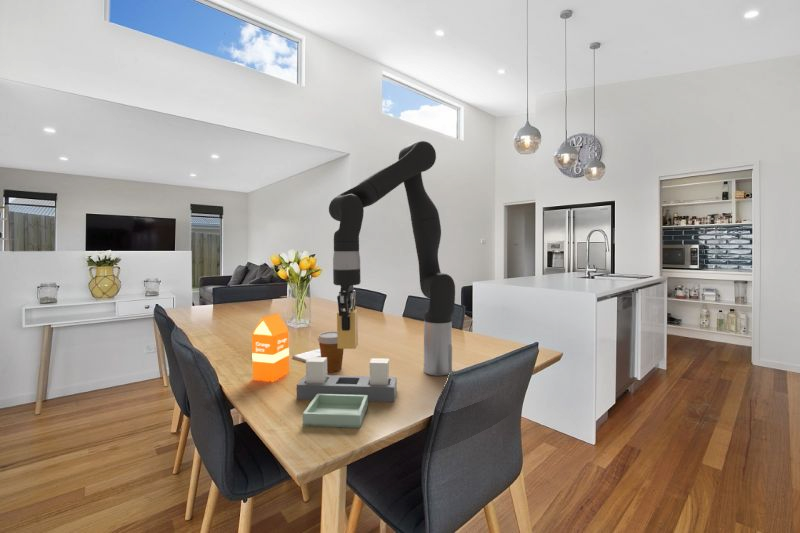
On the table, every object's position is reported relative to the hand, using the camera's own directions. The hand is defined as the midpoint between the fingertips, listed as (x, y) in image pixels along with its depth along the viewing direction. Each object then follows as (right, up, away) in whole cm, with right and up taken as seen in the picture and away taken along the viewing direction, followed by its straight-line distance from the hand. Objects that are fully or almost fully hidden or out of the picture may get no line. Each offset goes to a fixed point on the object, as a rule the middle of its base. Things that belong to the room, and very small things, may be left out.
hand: (347, 328), depth 103 cm
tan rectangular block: (0, -5, 0) cm, 5 cm away
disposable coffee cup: (-9, -18, +23) cm, 30 cm away
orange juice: (-27, -19, +16) cm, 36 cm away
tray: (-1, -20, -12) cm, 23 cm away
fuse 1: (-9, -19, +2) cm, 21 cm away
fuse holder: (0, -19, +1) cm, 19 cm away
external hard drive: (-19, -18, +37) cm, 45 cm away
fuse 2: (+9, -19, +1) cm, 21 cm away
